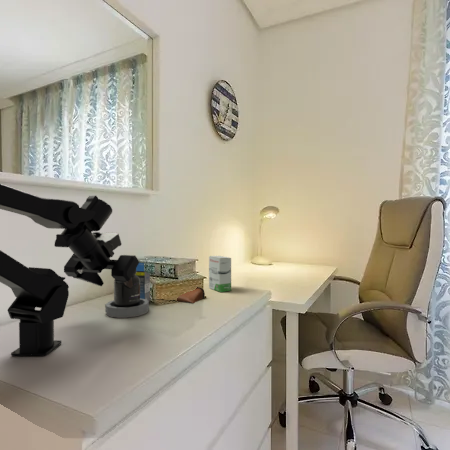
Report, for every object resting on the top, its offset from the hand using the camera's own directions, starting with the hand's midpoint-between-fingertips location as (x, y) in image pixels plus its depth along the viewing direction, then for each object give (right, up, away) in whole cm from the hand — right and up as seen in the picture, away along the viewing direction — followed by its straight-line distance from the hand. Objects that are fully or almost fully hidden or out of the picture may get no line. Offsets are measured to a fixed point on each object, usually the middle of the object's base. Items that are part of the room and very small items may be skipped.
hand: (116, 286), depth 86 cm
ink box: (+26, -7, +33) cm, 43 cm away
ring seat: (+2, -8, +4) cm, 9 cm away
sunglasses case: (+12, -8, +20) cm, 25 cm away
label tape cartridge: (0, -8, +15) cm, 17 cm away
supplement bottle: (+2, -8, +4) cm, 9 cm away
